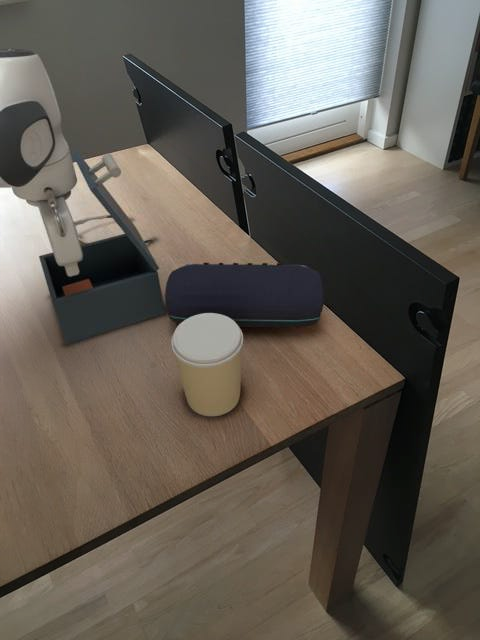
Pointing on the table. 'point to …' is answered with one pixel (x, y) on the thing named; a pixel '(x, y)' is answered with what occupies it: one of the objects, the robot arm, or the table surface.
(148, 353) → the table surface
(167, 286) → the portable speaker
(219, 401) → the coffee cup
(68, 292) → the block
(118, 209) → the lid
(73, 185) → the robot arm
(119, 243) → the open box
